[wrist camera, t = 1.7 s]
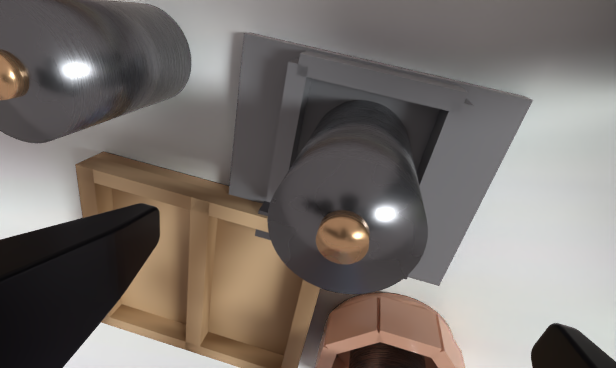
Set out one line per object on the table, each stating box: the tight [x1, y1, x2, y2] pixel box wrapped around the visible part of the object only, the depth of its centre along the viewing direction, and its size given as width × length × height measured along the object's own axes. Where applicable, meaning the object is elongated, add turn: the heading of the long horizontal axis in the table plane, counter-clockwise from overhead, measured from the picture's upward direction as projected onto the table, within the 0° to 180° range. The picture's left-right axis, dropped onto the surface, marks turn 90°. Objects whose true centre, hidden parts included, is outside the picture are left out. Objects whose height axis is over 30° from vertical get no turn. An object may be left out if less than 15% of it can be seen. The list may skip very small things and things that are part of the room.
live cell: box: [267, 100, 428, 294], centre depth 12 cm, size 4×4×8 cm
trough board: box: [76, 152, 320, 368], centre depth 21 cm, size 14×12×2 cm
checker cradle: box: [228, 33, 533, 286], centre depth 16 cm, size 12×10×2 cm
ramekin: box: [315, 293, 465, 368], centre depth 20 cm, size 8×8×3 cm
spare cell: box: [0, 0, 191, 143], centre depth 13 cm, size 4×4×8 cm
